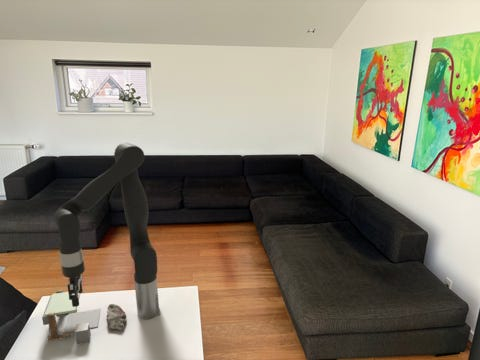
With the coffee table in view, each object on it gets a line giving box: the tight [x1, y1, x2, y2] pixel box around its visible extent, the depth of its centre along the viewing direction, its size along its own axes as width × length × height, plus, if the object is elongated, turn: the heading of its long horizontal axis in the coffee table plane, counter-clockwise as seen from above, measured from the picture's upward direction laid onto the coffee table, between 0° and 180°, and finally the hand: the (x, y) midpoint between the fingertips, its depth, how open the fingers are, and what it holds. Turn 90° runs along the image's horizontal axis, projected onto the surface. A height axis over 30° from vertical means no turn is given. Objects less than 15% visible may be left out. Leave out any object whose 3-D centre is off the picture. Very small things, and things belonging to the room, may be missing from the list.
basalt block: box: [74, 322, 92, 345], centre depth 136 cm, size 4×4×6 cm
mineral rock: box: [106, 303, 127, 331], centre depth 147 cm, size 15×8×4 cm, turn 16°
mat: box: [62, 308, 101, 334], centre depth 147 cm, size 13×12×1 cm
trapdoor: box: [41, 291, 82, 326], centre depth 142 cm, size 12×14×5 cm
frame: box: [47, 289, 78, 342], centre depth 143 cm, size 8×18×12 cm, turn 16°
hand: (77, 299), depth 131 cm, fingers open, 8 cm apart
